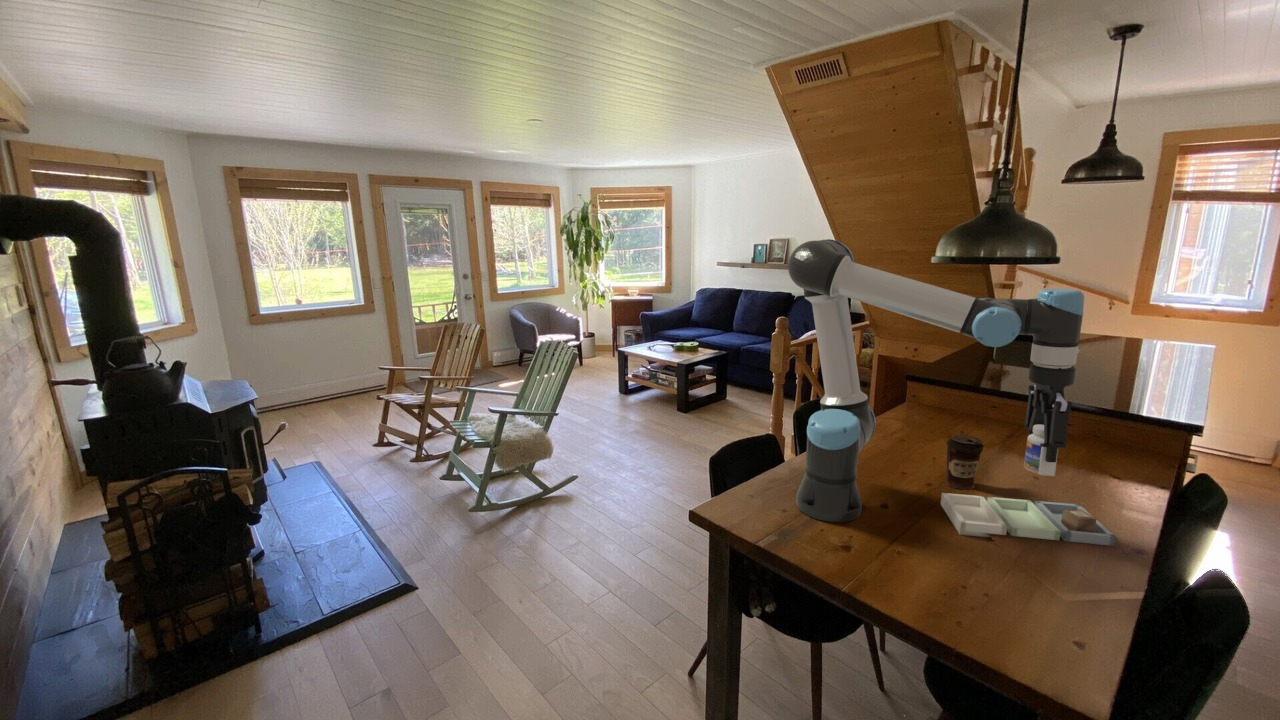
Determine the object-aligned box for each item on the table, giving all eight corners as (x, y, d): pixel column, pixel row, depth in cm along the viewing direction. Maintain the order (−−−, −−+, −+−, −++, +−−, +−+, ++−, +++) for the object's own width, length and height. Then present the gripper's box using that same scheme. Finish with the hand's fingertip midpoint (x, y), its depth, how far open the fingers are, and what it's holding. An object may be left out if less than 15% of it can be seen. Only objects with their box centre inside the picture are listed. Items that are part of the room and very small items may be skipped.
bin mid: (1010, 539, 115) (1012, 527, 114) (985, 508, 128) (987, 496, 128) (1058, 544, 113) (1060, 531, 112) (1028, 511, 126) (1030, 500, 126)
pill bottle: (1017, 467, 117) (1022, 425, 115) (1036, 463, 118) (1041, 421, 116) (1042, 476, 111) (1047, 433, 109) (1061, 472, 113) (1067, 429, 111)
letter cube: (1075, 536, 114) (1078, 518, 113) (1060, 526, 118) (1063, 509, 117) (1093, 535, 114) (1096, 518, 113) (1077, 525, 118) (1081, 509, 117)
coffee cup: (984, 494, 135) (991, 446, 132) (948, 491, 137) (954, 444, 134) (970, 478, 143) (977, 433, 140) (937, 476, 145) (942, 432, 142)
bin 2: (1064, 545, 113) (1066, 532, 112) (1033, 512, 126) (1035, 500, 125) (1113, 550, 111) (1116, 537, 110) (1077, 516, 124) (1079, 504, 123)
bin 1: (959, 534, 117) (961, 522, 117) (940, 503, 131) (941, 492, 130) (1005, 539, 115) (1007, 526, 115) (981, 507, 129) (982, 496, 128)
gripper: (1098, 375, 100) (1082, 489, 105) (1052, 355, 117) (1040, 453, 122) (1052, 374, 102) (1038, 486, 107) (1013, 355, 119) (1003, 451, 124)
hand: (1039, 468), depth 115 cm, fingers closed on pill bottle, 5 cm apart
